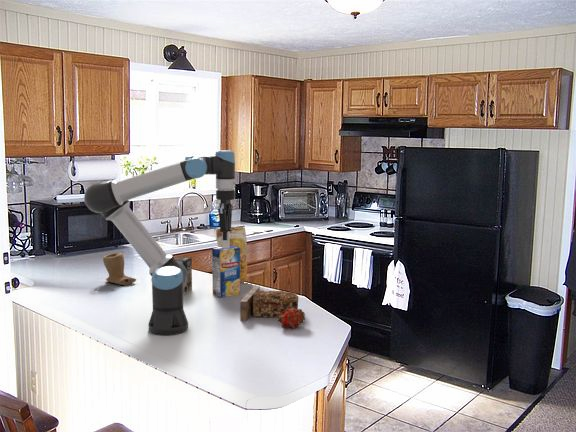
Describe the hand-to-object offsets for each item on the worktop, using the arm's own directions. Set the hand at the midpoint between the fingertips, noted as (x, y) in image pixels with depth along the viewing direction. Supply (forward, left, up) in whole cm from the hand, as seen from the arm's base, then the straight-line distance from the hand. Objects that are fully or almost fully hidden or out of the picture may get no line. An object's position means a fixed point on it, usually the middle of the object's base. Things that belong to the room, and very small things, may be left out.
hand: (225, 247), depth 250 cm
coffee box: (+34, +31, -30) cm, 55 cm away
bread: (+9, -19, -30) cm, 36 cm away
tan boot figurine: (+43, +68, -30) cm, 86 cm away
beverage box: (+35, +10, -30) cm, 47 cm away
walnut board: (+10, -8, -29) cm, 32 cm away
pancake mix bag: (+57, +13, -30) cm, 66 cm away
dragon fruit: (-6, -28, -30) cm, 41 cm away
